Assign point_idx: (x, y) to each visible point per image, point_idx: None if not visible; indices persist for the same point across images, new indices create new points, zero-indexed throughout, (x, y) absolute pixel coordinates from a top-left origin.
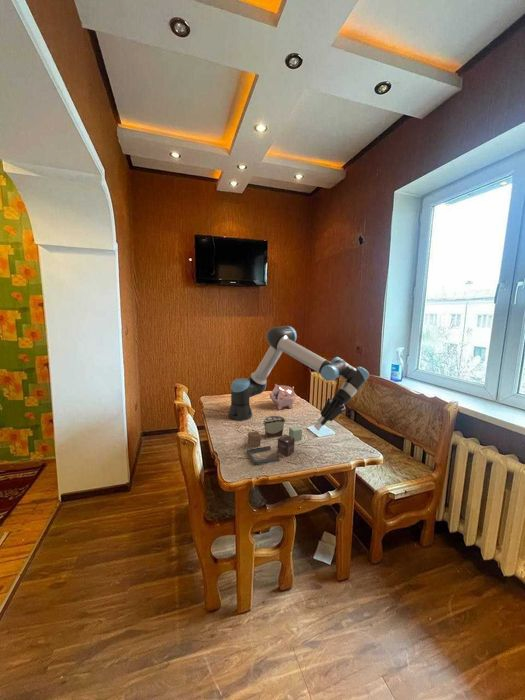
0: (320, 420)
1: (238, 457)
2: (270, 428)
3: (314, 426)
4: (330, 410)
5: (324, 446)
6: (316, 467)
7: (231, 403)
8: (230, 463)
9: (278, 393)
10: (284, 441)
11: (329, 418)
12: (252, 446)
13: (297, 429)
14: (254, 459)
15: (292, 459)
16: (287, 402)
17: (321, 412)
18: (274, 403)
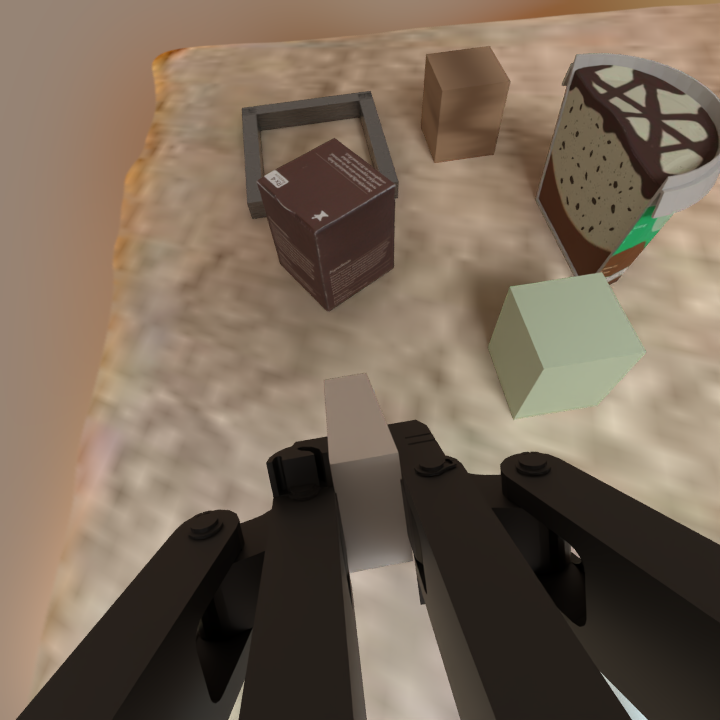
0: (347, 423)
1: (334, 83)
2: (572, 155)
3: (356, 376)
4: (322, 672)
5: (371, 601)
6: (96, 393)
7: None
8: (293, 62)
9: None
10: (282, 166)
11: (178, 545)
12: (423, 125)
13: (545, 326)
14: (267, 110)
15: (241, 283)
16: None
17: (532, 464)
18: None
